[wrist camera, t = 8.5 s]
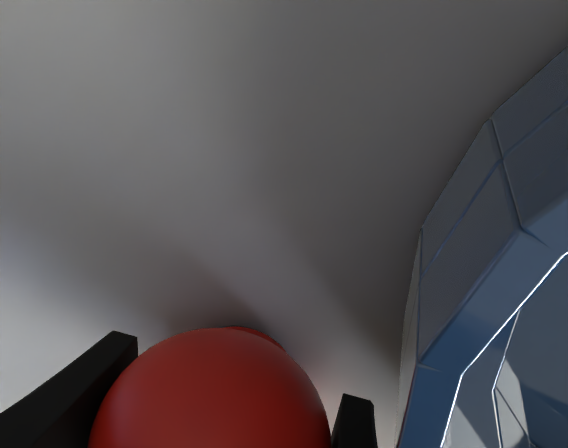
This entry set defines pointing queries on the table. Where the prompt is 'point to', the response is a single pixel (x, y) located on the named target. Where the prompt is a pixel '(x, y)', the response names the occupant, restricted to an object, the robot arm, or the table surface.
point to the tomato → (212, 396)
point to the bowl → (494, 287)
